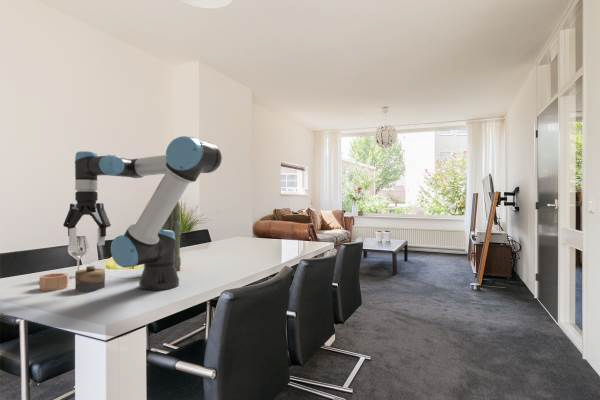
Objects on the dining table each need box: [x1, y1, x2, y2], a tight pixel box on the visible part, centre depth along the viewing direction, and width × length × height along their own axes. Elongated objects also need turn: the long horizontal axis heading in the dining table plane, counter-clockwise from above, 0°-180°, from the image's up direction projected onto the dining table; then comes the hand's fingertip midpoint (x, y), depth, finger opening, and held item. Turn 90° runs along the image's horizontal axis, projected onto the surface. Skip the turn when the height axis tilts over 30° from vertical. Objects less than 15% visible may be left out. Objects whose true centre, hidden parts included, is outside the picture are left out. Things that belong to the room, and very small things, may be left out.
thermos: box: [161, 201, 182, 273], centre depth 177 cm, size 9×12×35 cm
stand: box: [74, 280, 106, 293], centre depth 140 cm, size 7×7×3 cm
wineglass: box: [67, 235, 90, 279], centre depth 161 cm, size 8×8×18 cm
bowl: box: [39, 272, 69, 292], centre depth 140 cm, size 9×9×5 cm
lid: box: [74, 265, 106, 284], centre depth 140 cm, size 10×10×6 cm
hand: (86, 245), depth 140 cm, fingers open, 13 cm apart
